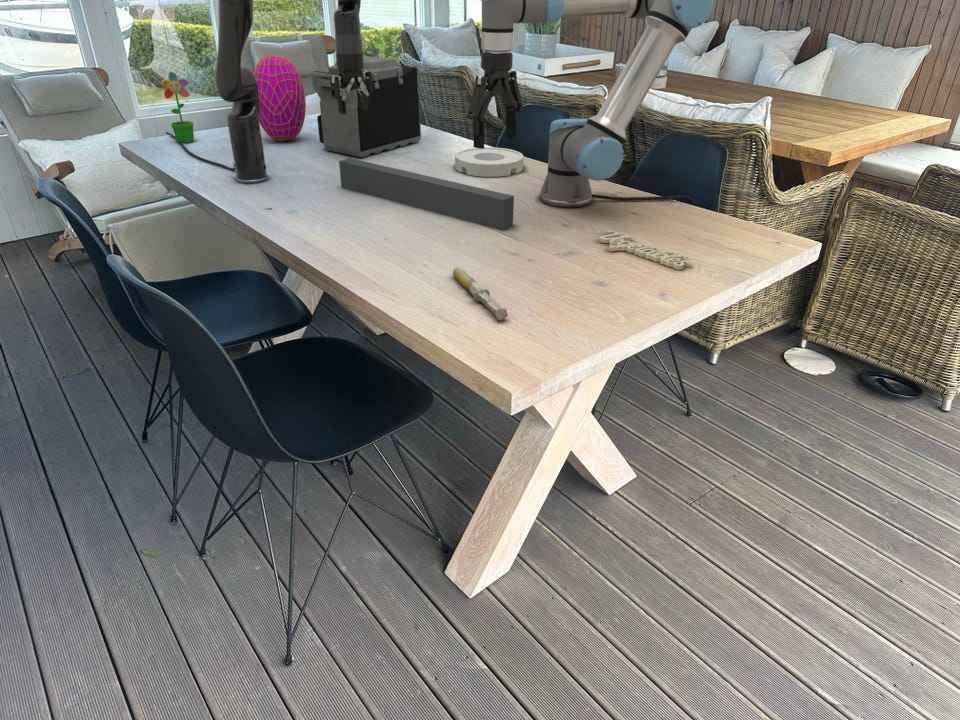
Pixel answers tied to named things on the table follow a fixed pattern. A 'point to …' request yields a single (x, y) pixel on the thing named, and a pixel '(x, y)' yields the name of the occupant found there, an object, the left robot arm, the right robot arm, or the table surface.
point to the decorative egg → (280, 97)
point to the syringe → (479, 293)
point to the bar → (429, 193)
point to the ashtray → (489, 161)
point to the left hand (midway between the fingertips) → (353, 111)
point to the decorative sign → (643, 250)
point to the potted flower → (181, 128)
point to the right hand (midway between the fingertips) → (495, 143)
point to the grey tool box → (371, 110)
